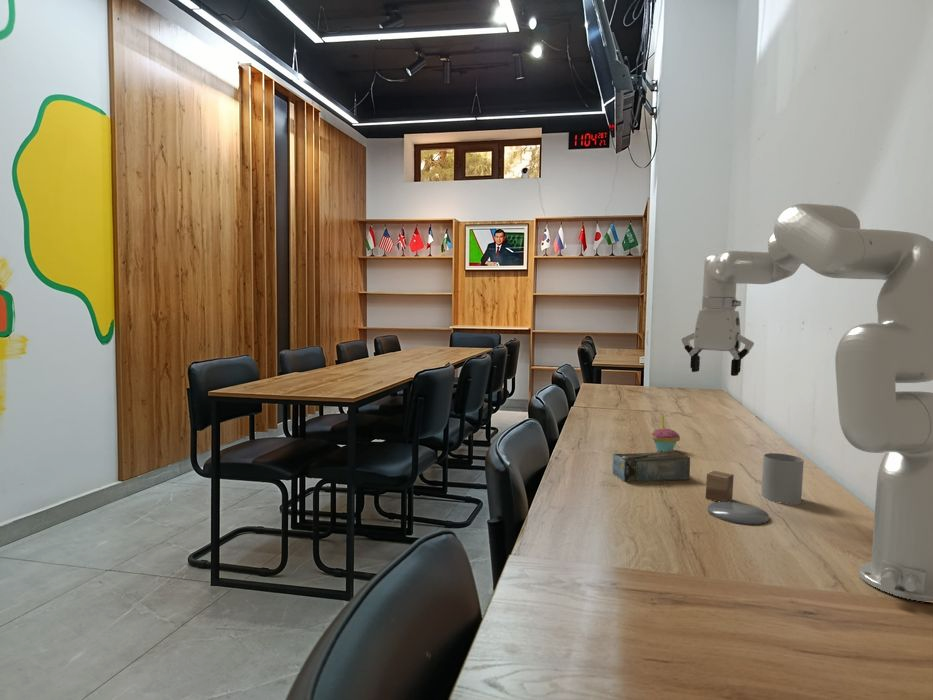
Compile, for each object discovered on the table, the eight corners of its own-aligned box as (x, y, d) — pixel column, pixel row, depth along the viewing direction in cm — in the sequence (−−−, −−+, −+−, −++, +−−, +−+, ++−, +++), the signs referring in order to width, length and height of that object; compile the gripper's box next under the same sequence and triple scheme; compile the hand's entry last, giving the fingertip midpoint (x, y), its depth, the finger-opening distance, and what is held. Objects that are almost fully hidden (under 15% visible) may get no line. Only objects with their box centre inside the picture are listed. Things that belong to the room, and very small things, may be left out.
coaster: (757, 529, 115) (757, 525, 115) (698, 513, 123) (699, 510, 123) (776, 515, 123) (776, 511, 123) (720, 501, 132) (720, 498, 132)
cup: (806, 505, 130) (809, 463, 130) (767, 502, 132) (770, 460, 131) (793, 494, 139) (795, 454, 138) (756, 491, 140) (759, 452, 140)
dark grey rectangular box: (610, 474, 153) (611, 450, 153) (675, 472, 157) (676, 449, 156) (623, 483, 146) (624, 458, 145) (691, 481, 149) (692, 456, 149)
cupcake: (645, 448, 184) (647, 412, 183) (665, 446, 187) (666, 411, 187) (664, 454, 176) (666, 416, 175) (685, 452, 180) (686, 415, 179)
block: (725, 503, 131) (726, 478, 130) (705, 498, 134) (706, 473, 133) (732, 499, 134) (733, 474, 133) (713, 494, 137) (714, 470, 137)
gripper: (760, 306, 137) (756, 376, 138) (690, 305, 149) (686, 369, 150) (750, 305, 131) (745, 378, 132) (678, 304, 143) (674, 371, 145)
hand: (714, 373), depth 141 cm, fingers open, 9 cm apart
